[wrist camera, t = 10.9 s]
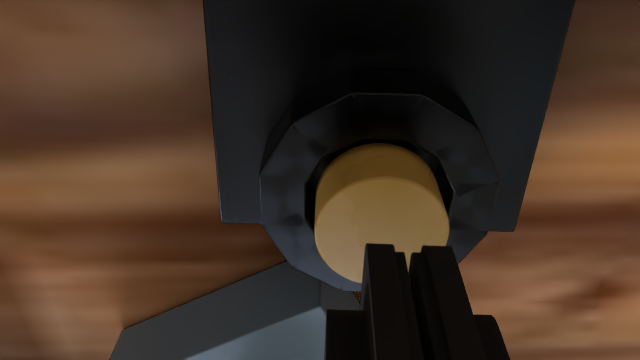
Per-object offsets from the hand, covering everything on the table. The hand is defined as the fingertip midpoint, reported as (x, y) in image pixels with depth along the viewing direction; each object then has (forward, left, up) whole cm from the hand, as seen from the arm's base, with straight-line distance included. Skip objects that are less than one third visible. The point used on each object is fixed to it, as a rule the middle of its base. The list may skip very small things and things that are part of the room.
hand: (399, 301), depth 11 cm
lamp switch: (0, 0, -4) cm, 4 cm away
